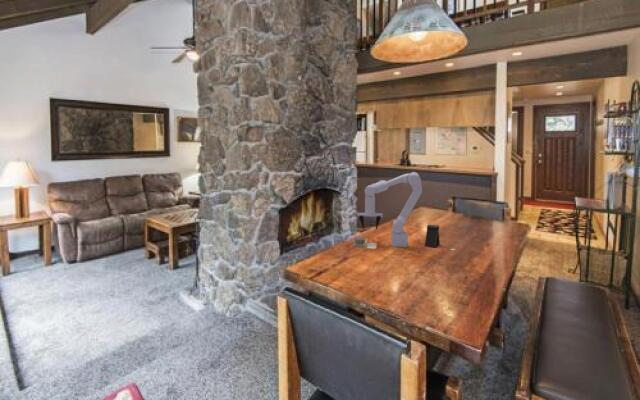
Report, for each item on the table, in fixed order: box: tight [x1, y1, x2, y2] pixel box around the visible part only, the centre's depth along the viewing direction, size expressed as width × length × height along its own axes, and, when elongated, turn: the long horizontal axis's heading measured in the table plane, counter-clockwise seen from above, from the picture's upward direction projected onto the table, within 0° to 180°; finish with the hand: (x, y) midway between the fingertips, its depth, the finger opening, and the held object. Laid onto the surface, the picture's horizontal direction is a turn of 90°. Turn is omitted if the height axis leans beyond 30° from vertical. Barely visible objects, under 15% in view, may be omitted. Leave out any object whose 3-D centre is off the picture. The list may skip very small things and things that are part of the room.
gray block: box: [355, 236, 364, 245], centre depth 211 cm, size 4×4×4 cm
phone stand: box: [424, 224, 441, 249], centre depth 211 cm, size 9×6×12 cm, turn 144°
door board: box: [352, 237, 378, 250], centre depth 210 cm, size 13×10×4 cm
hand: (369, 228), depth 212 cm, fingers open, 7 cm apart
